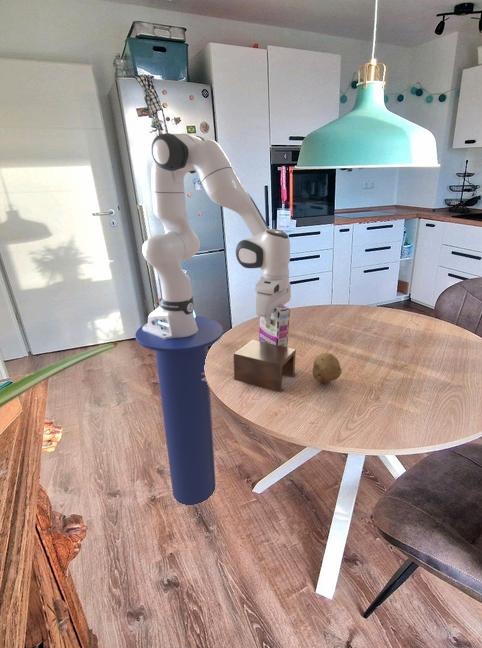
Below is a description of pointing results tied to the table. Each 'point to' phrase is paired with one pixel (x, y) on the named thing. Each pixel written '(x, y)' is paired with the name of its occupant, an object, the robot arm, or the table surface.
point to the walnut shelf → (264, 364)
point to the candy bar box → (276, 327)
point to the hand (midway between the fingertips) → (273, 320)
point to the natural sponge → (326, 368)
